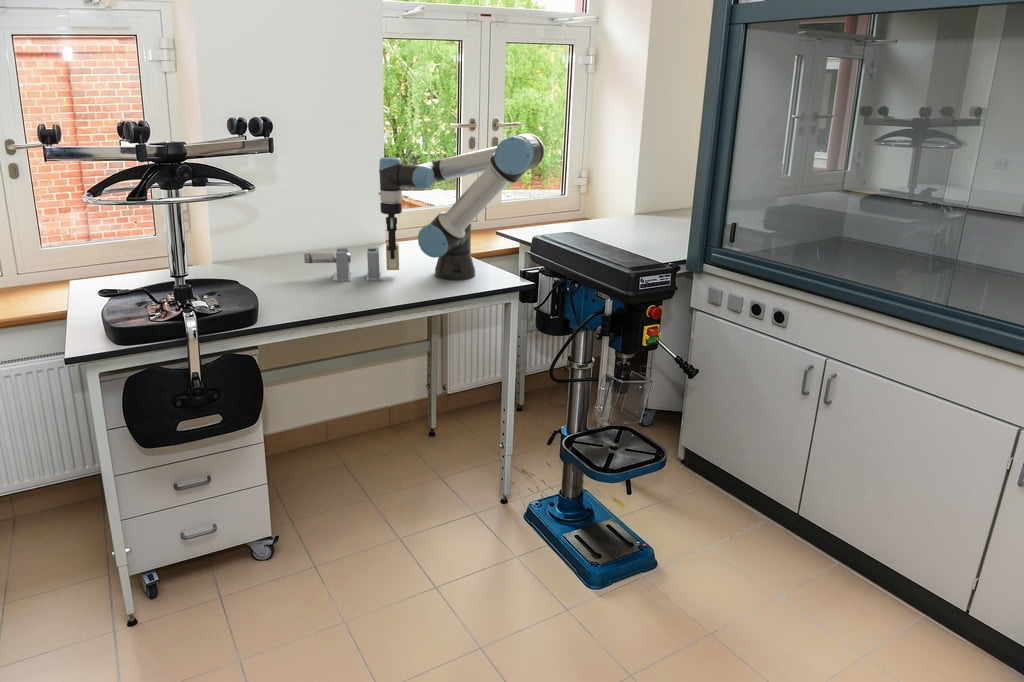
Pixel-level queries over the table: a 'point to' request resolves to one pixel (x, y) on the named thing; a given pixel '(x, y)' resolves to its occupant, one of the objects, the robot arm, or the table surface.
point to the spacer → (396, 257)
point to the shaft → (322, 257)
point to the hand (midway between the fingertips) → (392, 265)
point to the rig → (343, 265)
